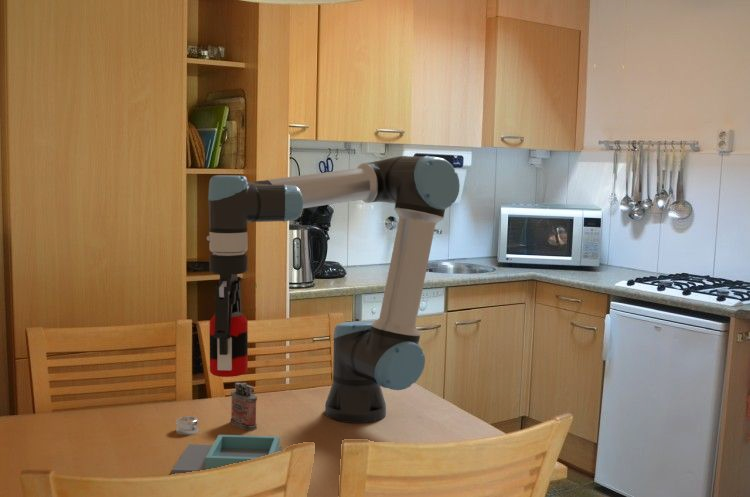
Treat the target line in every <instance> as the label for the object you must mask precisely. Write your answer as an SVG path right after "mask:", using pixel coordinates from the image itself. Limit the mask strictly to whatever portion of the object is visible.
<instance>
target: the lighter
mask: <svg viewBox="0 0 750 497" xmlns="http://www.w3.org/2000/svg"><path fill="white" fill-rule="evenodd" d="M234 387H235V390H231V391H230V396H231V416H230V417H231V418H230V424H232V425H233V426H235V427H237V428H240V429H243V430H247V431H255V430H256V429H257V428H258V427H257V400H258V396H257V395H255V394H253V393H255V387H254V386H252V385H250V384H247V382H235V383H234Z"/></svg>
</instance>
